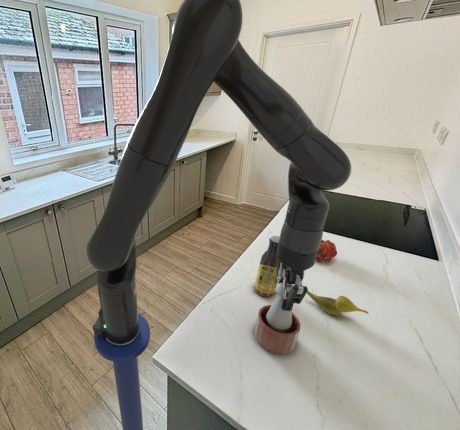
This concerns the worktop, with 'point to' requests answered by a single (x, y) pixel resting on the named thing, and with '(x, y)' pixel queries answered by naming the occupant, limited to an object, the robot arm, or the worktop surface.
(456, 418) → the worktop surface
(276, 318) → the salt shaker
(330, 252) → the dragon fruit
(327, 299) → the yellow-green tapered piece
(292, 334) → the cup
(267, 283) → the sauce bottle
